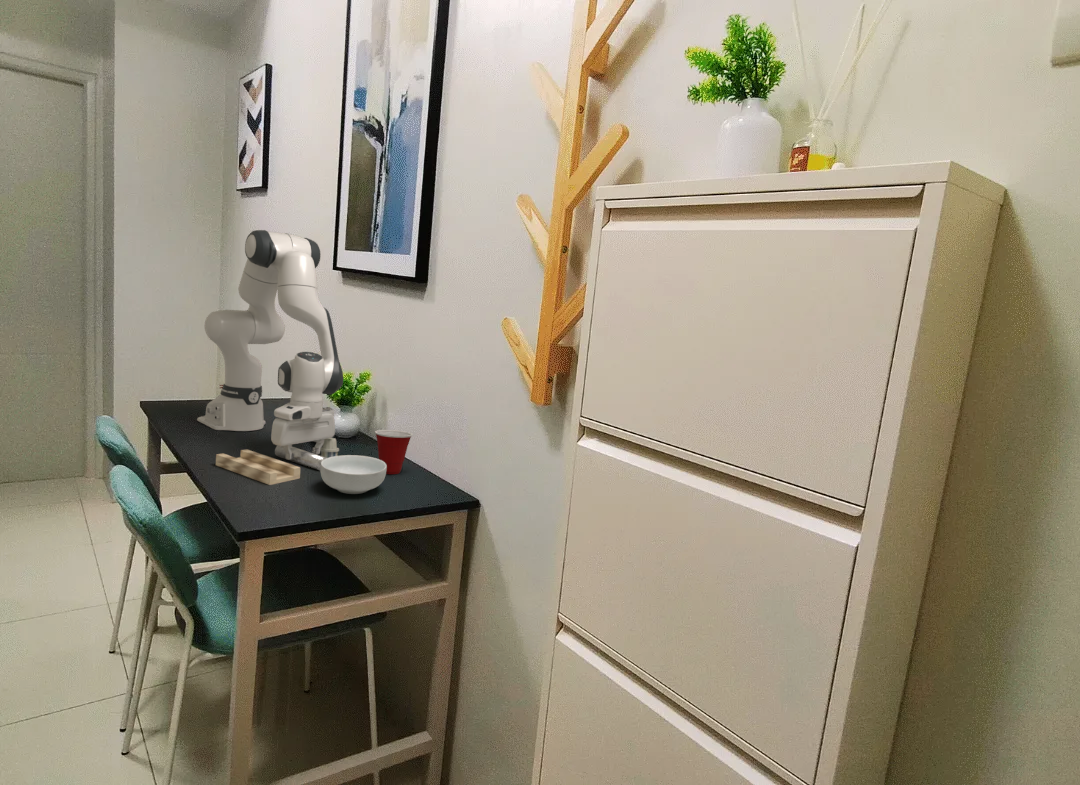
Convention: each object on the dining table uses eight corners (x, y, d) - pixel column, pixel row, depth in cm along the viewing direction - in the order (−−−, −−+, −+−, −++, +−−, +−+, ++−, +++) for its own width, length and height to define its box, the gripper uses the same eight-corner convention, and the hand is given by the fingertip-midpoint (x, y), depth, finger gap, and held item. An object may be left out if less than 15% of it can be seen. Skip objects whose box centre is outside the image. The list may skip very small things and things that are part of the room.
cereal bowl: (310, 481, 176) (312, 456, 175) (370, 477, 186) (372, 453, 185) (330, 502, 163) (333, 474, 162) (394, 497, 172) (397, 470, 171)
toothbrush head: (323, 427, 220) (341, 436, 199) (322, 447, 221) (340, 458, 199) (306, 427, 218) (323, 436, 196) (306, 448, 218) (322, 458, 196)
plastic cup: (408, 467, 200) (412, 428, 199) (409, 477, 190) (413, 437, 188) (371, 465, 198) (375, 425, 196) (370, 475, 188) (374, 434, 186)
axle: (275, 458, 195) (274, 446, 193) (286, 453, 198) (285, 441, 197) (318, 473, 186) (317, 460, 185) (329, 468, 189) (328, 455, 188)
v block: (215, 465, 180) (216, 454, 180) (246, 459, 188) (246, 449, 188) (269, 485, 170) (270, 473, 169) (299, 478, 178) (300, 467, 177)
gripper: (326, 404, 200) (323, 448, 202) (269, 410, 182) (266, 459, 184) (341, 408, 197) (338, 453, 199) (284, 415, 179) (281, 464, 181)
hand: (303, 456), depth 192 cm, fingers open, 8 cm apart
